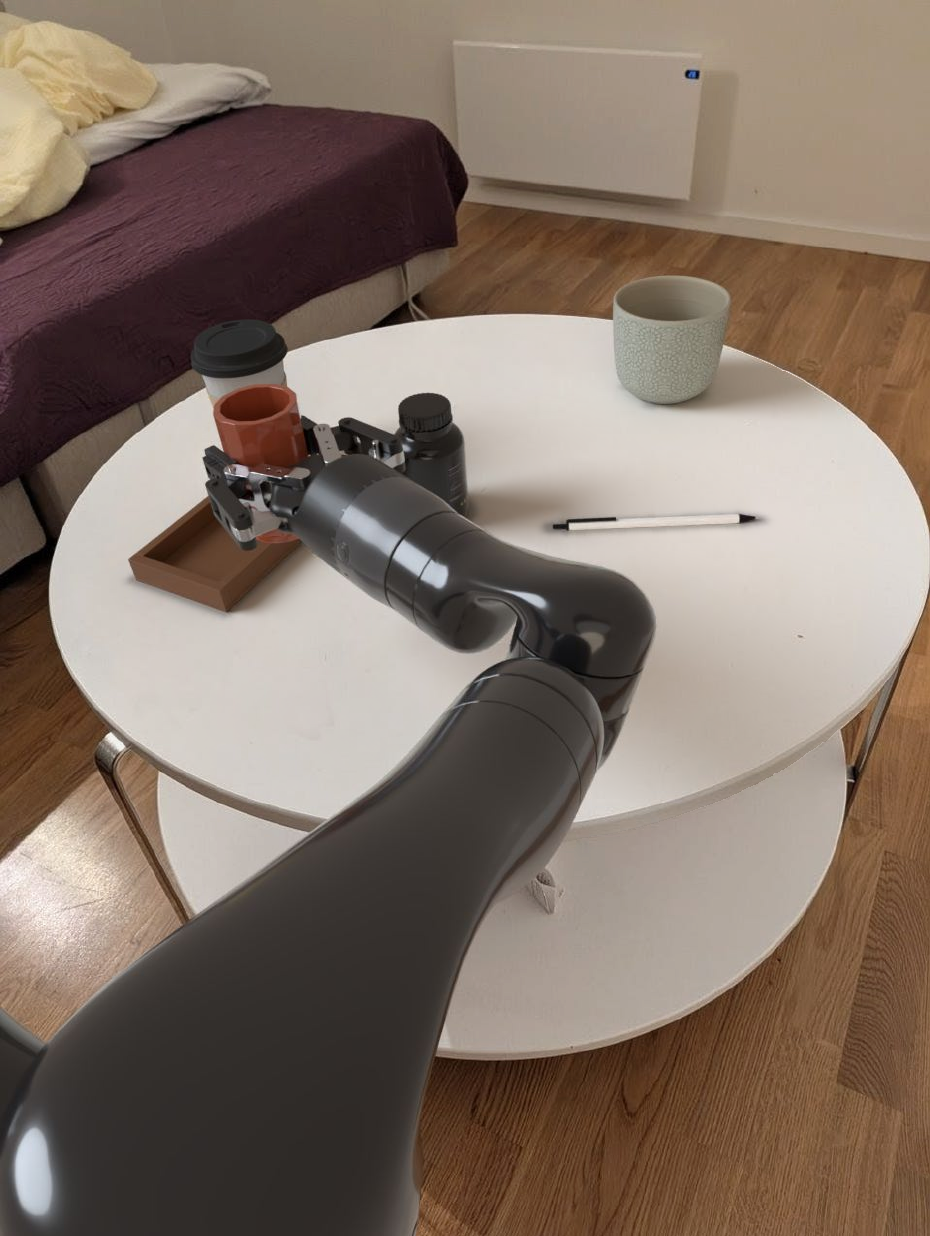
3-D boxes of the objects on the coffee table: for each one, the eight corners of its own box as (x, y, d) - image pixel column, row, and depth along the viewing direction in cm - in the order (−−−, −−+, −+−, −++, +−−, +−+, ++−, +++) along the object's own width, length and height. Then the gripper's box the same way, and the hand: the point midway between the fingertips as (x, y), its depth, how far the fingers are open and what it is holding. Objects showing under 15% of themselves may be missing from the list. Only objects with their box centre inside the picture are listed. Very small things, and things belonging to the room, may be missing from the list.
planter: (587, 392, 107) (589, 301, 100) (655, 355, 113) (662, 266, 105) (673, 428, 100) (682, 332, 92) (741, 386, 105) (754, 293, 98)
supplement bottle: (389, 528, 89) (372, 418, 81) (416, 489, 94) (403, 382, 86) (454, 539, 87) (444, 428, 79) (479, 500, 92) (472, 390, 84)
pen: (552, 527, 88) (552, 517, 87) (755, 519, 87) (757, 509, 86) (553, 533, 87) (553, 523, 87) (757, 524, 86) (759, 514, 85)
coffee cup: (277, 436, 104) (247, 308, 94) (328, 465, 99) (303, 332, 89) (206, 471, 99) (167, 340, 89) (256, 504, 94) (220, 368, 84)
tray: (226, 612, 81) (219, 591, 80) (135, 580, 86) (127, 559, 84) (312, 532, 90) (308, 511, 88) (225, 506, 94) (219, 486, 92)
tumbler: (291, 551, 68) (262, 431, 61) (230, 532, 70) (195, 415, 63) (336, 509, 71) (313, 392, 65) (276, 492, 74) (248, 377, 67)
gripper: (302, 632, 57) (176, 523, 67) (474, 532, 64) (337, 446, 74) (277, 535, 52) (146, 433, 62) (467, 438, 59) (320, 359, 69)
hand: (250, 441), depth 68 cm, fingers closed on tumbler, 6 cm apart
